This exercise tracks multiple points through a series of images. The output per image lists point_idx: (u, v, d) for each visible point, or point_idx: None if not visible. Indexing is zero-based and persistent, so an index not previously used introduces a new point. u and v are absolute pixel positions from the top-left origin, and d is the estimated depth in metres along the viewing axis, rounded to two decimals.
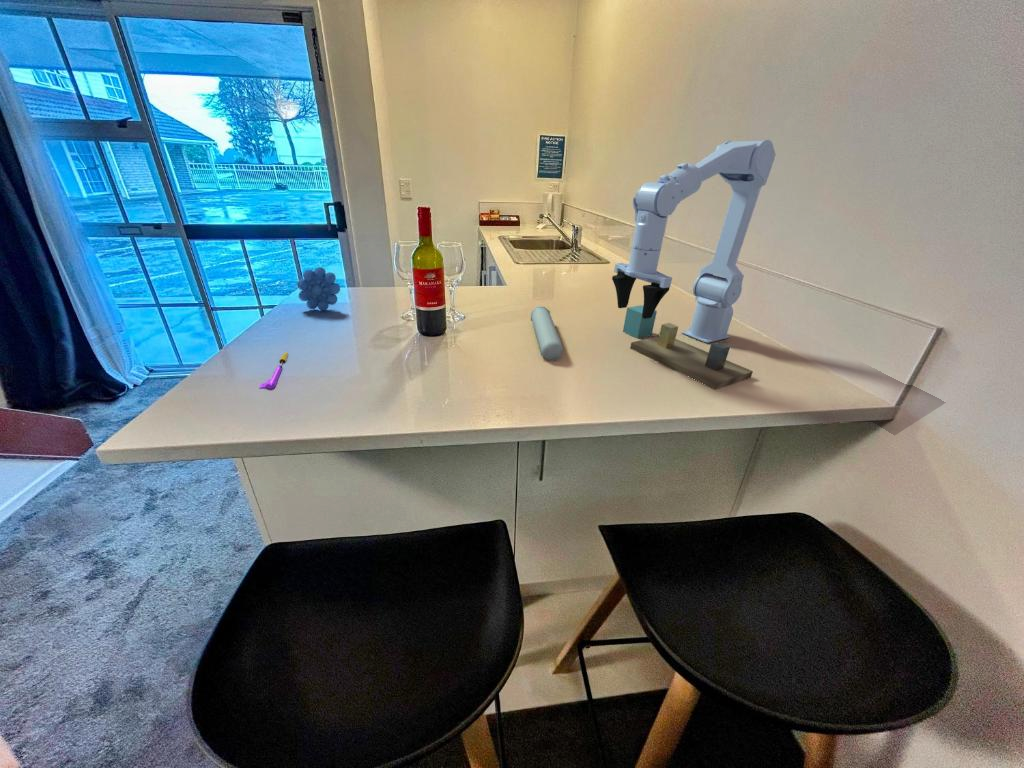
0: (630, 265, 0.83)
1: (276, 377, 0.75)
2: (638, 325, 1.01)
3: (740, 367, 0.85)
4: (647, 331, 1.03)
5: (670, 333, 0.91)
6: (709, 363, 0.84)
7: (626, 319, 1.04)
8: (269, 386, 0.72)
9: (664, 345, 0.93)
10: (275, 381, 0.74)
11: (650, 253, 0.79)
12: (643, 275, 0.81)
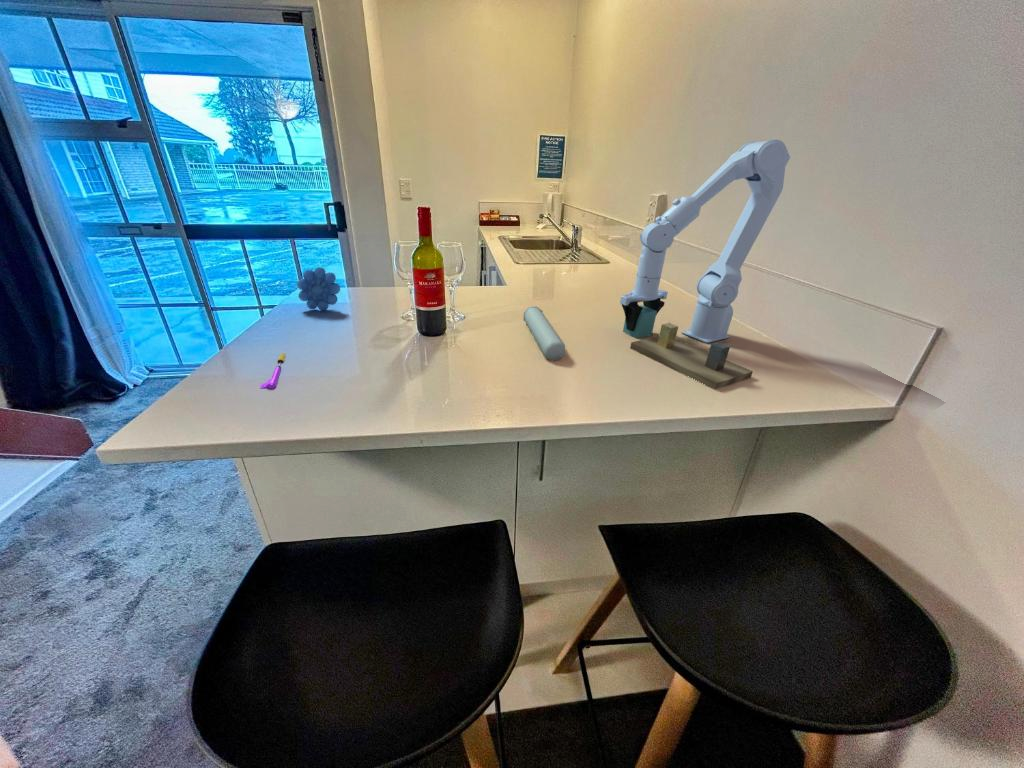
0: None
1: (276, 377, 0.75)
2: (638, 325, 1.01)
3: (740, 367, 0.85)
4: (647, 331, 1.03)
5: (670, 333, 0.91)
6: (709, 363, 0.84)
7: None
8: (270, 386, 0.72)
9: (664, 345, 0.93)
10: (275, 381, 0.74)
11: (637, 278, 0.98)
12: None
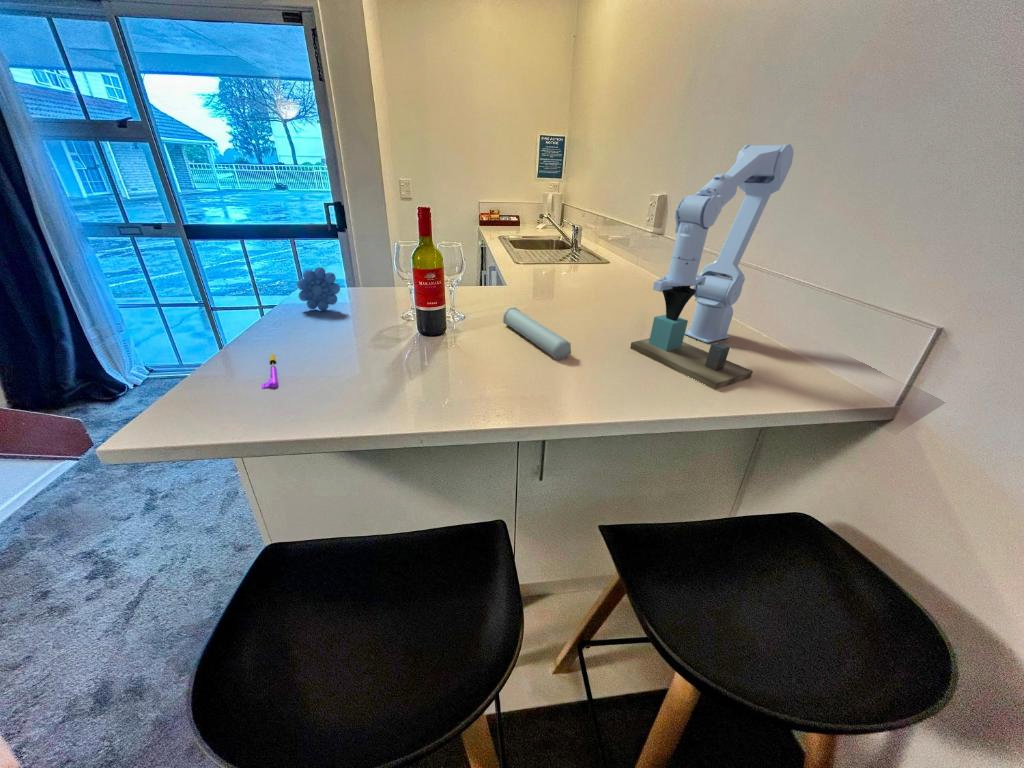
0: None
1: (275, 376, 0.75)
2: (667, 336, 0.90)
3: (740, 367, 0.85)
4: (677, 343, 0.92)
5: None
6: (709, 363, 0.84)
7: (653, 329, 0.93)
8: (273, 385, 0.72)
9: None
10: (277, 380, 0.74)
11: (672, 260, 0.85)
12: None
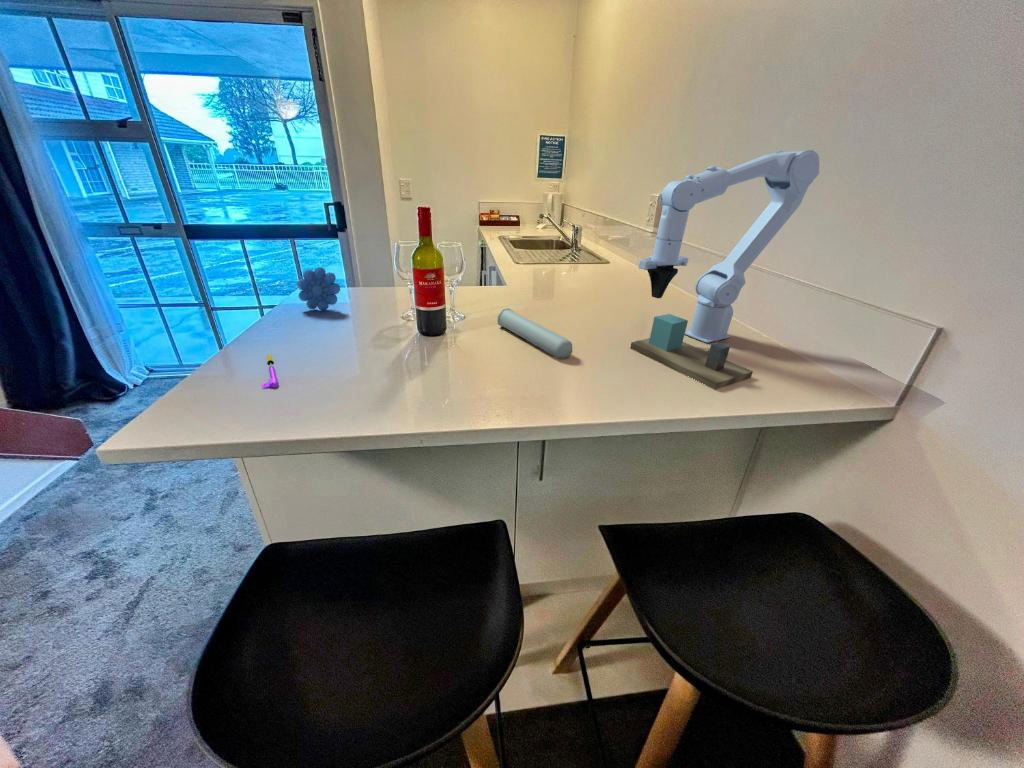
0: None
1: (275, 376, 0.75)
2: (667, 336, 0.90)
3: (740, 367, 0.85)
4: (677, 343, 0.92)
5: None
6: (709, 363, 0.84)
7: (653, 329, 0.93)
8: (274, 385, 0.72)
9: None
10: (277, 380, 0.74)
11: (656, 241, 0.92)
12: None
